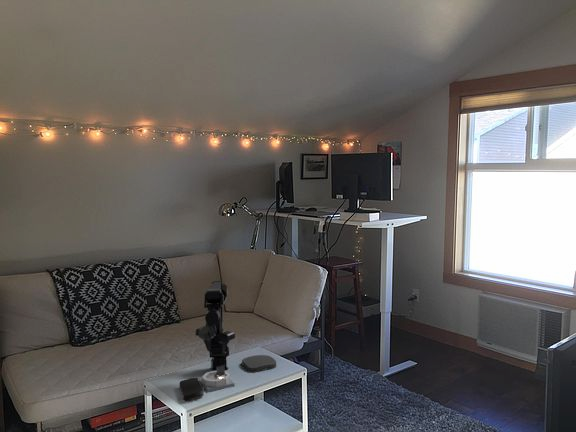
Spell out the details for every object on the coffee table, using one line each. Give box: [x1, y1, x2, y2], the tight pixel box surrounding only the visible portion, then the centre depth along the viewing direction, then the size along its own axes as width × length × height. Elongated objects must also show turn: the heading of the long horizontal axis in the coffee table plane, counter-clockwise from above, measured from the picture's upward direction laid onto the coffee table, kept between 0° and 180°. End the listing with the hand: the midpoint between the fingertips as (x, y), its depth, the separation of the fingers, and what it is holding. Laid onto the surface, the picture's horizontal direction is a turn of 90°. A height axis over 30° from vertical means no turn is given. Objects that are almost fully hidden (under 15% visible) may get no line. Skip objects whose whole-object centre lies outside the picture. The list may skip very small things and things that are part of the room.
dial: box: [207, 365, 226, 380], centre depth 221 cm, size 8×8×6 cm
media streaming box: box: [241, 354, 277, 373], centre depth 243 cm, size 15×15×3 cm
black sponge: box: [178, 377, 205, 401], centre depth 213 cm, size 16×8×4 cm, turn 20°
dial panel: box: [198, 370, 235, 393], centre depth 221 cm, size 12×12×4 cm
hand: (215, 352), depth 224 cm, fingers open, 8 cm apart
